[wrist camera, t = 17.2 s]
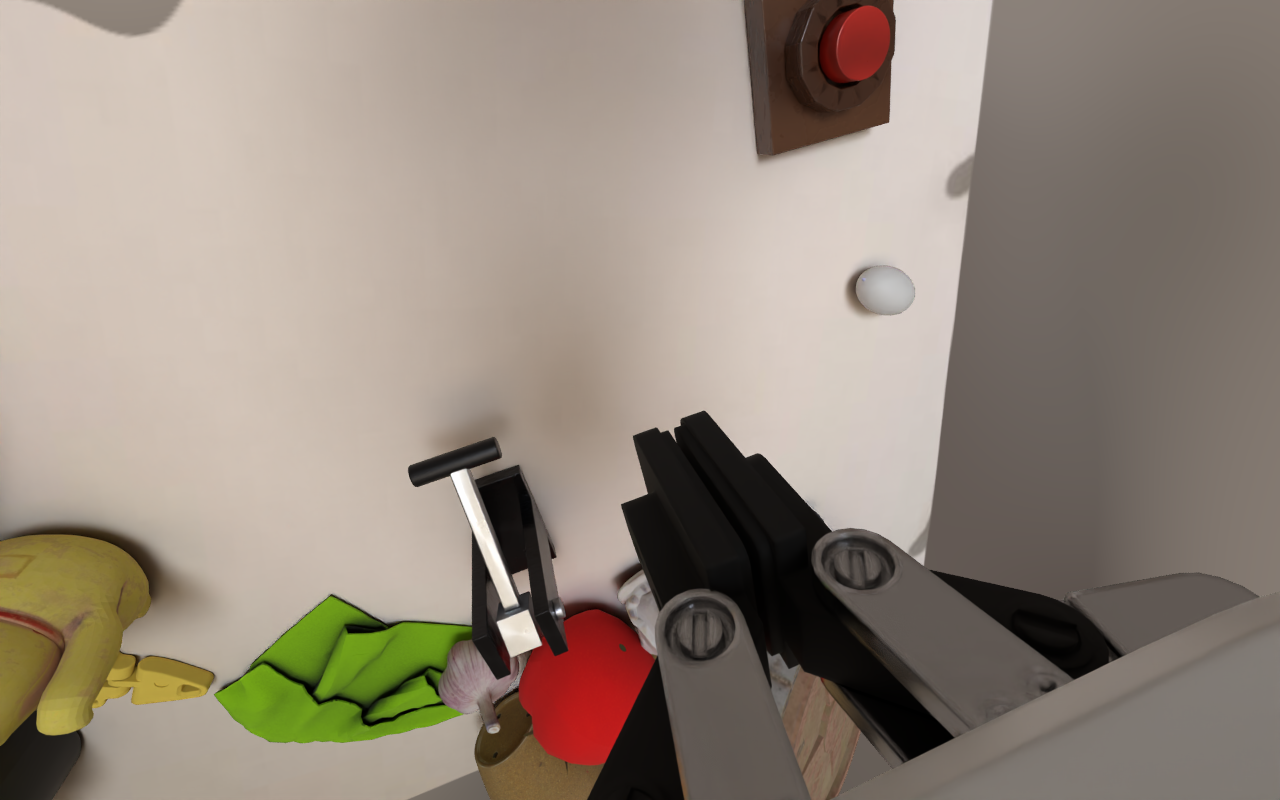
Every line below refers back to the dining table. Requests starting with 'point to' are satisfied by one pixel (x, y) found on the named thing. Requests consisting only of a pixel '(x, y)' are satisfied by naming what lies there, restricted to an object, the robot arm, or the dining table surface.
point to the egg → (885, 290)
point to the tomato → (584, 687)
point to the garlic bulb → (473, 683)
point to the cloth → (345, 679)
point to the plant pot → (526, 762)
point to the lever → (485, 539)
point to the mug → (36, 762)
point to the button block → (808, 75)
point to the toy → (153, 680)
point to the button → (854, 44)
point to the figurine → (62, 626)
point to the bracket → (514, 568)
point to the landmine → (814, 728)
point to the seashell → (641, 609)
